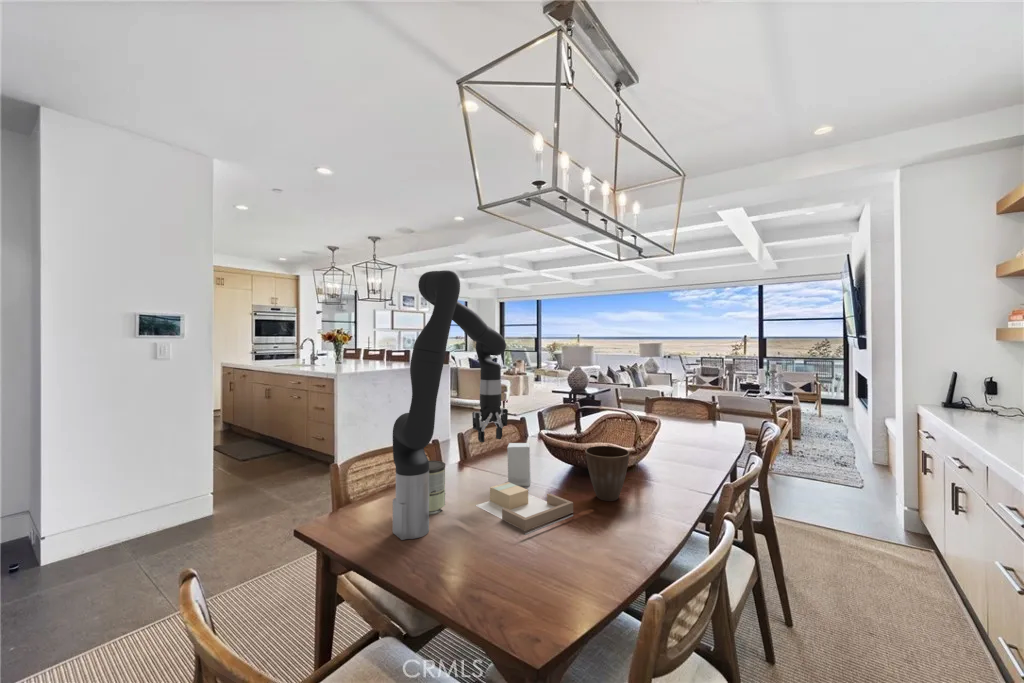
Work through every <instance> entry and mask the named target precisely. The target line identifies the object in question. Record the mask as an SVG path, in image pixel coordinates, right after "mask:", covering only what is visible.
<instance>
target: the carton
mask: <svg viewBox="0 0 1024 683" xmlns="http://www.w3.org/2000/svg"><path fill="white" fill-rule="evenodd" d="M528 494H529V489H527V488H524V487H523V486H517V485H515V484H512V483H510V482H508V481H507V482H504V483H499V484H496V485H492V486H490V487H489V501H491V502H494V503H496V504H498V505H500V506H502V507H504V508H506V509H508V510H511V509H514V508H517V507H520V506H523V505H526V504H528Z"/></svg>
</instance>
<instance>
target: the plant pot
mask: <svg viewBox="0 0 1024 683" xmlns="http://www.w3.org/2000/svg"><path fill="white" fill-rule="evenodd" d="M584 453H585V458H586V465H587V469H588V473H589V478H590V482H591V485H592V487H593V491H594V493H595V496H596V498H597V499H599V500H602V501H606V502H612V501H614V502H615V501H617V500H619V498H620V495H621V492H622V489H623V486H624V483H625V480H626V476H627V472H628V471H627V470H628V465H629V459H630V451H629V450H627V449H626V448H622V447H618V446H613V445H612V446H611V445H596V446H590V447H587V448H586V449H585V451H584Z"/></svg>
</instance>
